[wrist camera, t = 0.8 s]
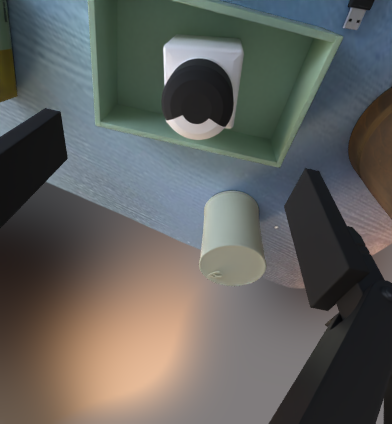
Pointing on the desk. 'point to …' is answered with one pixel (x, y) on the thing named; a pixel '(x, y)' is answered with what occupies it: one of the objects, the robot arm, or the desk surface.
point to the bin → (249, 82)
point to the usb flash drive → (357, 13)
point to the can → (232, 240)
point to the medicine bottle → (201, 84)
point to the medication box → (6, 57)
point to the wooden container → (375, 149)
